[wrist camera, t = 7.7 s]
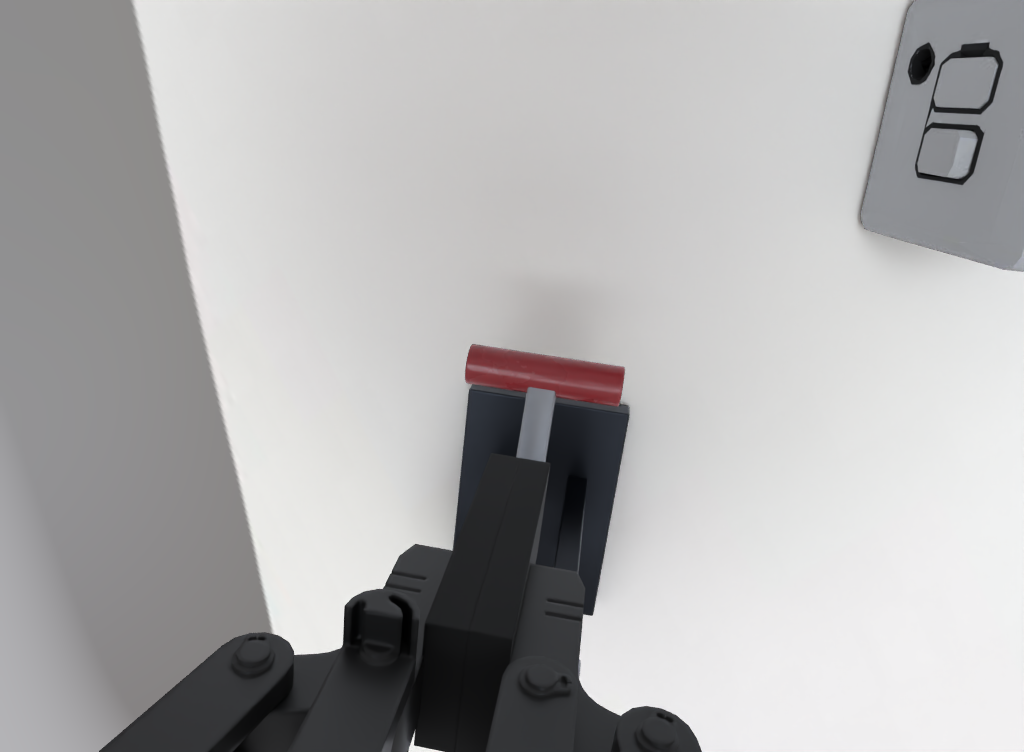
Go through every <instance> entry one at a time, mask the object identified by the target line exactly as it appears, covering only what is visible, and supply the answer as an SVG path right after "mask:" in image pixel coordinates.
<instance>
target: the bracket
mask: <svg viewBox="0 0 1024 752" xmlns="http://www.w3.org/2000/svg"><path fill="white" fill-rule="evenodd" d="M526 395H527V393H525V392H519V391H513V390H506V389H500V388H494V387H487V386H481V385H474V384H472V386H471V388H470V389H469V396H468V406H467V416H466V426H465V436H464V446H463V456H462V466H461V476H460V486H459V496H458V506H457V516H456V526H455V536H454V546H453V549H454V547H455V544H456V542H457V539H458V537H459V534H460V531H461V529H462V526H463V524H464V521H465V519H466V516H467V514H468V511H469V508H470V506H471V503H472V501H473V498H474V496H475V493H476V490H477V488H478V485H479V483H480V480H481V478H482V475H483V473H484V470H485V467H486V465H487V462H488V460H489V457H490V455H491V453H494V454H500V455H506V456H512V457H516V456H517V450H518V444H519V437H520V431H521V425H522V419H523V413H524V407H525V401H526ZM628 420H629V406H625V405H619V406H618V407H614V406H608V405H602V404H595V403H589V402H583V401H576V400H570V399H564V398H557V397H556V400H555V406H554V412H553V418H552V425H551V431H550V437H549V444H548V450H547V456H546V462H548V463H551V464H550V471H549V477H548V484H547V491H546V498H545V505H544V511H543V518H542V525H541V532H540V539H539V545H538V552H537V558H536V563H535V564H537V565H543V566H548V567H554V568H559V569H565V570H570V571H576V572H577V573H578V575H579V577H580V579H581V581H582V583H583V585H584V587H585V598H584V607H583V608H584V609H583V614H585V615H590V616H592V615H593V612H594V607H595V601H596V596H597V590H598V585H599V579H600V574H601V569H602V563H603V558H604V552H605V547H606V541H607V536H608V530H609V525H610V519H611V514H612V508H613V503H614V497H615V492H616V486H617V481H618V475H619V470H620V464H621V459H622V453H623V448H624V442H625V437H626V431H627V426H628ZM580 665H581V661H580V660H579V665H578V676H579V675H580Z"/></svg>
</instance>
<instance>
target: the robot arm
mask: <svg viewBox="0 0 1024 752" xmlns="http://www.w3.org/2000/svg"><path fill="white" fill-rule="evenodd" d="M550 464H551V463H548V462H542V461H536V460H530V459H524V458H518V457H512V456H506V455H500V454H494V453H491V455H490V457H489V460H488V462H487V465H486V467H485V470H484V473H483V475H482V478H481V480H480V483H479V485H478V488H477V490H476V493H475V496H474V498H473V501H472V503H471V506H470V508H469V511H468V514H467V516H466V519H465V521H464V524H463V526H462V529H461V531H460V534H459V537H458V539H457V542H456V544H455V547H454V549H453V551H451V550H446V549H440V548H435V547H429V546H424V545H418V544H415V545H414V546H412V547H411V548H410V549H408V550H407V551H405V552H404V553H403V554H401V555H400V556H399V558H398V560H397V562H396V564H395V566H394V568H393V570H392V573H391V574H390V576H389V578H388V580H387V582H386V585H385V586H384V588H383V589H376V590H370V591H365V592H363V593H361V594H359V595H357V596H355V597H353V598H352V599H351V600H350V601H349V602H348V603H347V604H346V605H345V611H344V635H343V646H342V648H340V649H338V650H335V651H331V652H328V653H320V654H307V655H294V651H293V649H292V647H291V645H290V643H289V642H288V641H286V640H285V639H283V638H282V637H280V636H278V635H274V634H270V633H249V634H246V635H242V636H239V637H236V638H234V639H232V640H230V641H229V642H227V643H226V644H224V645H222V646H221V647H220V648H219V649H218V650H217V651H215V652H214V653H213V654H212V655H211V656H210V657H208V658H207V659H206V660H205V661H204V662H203V663H201V664H200V665H199V666H198V667H197V668H196V669H194V670H193V671H192V672H191V673H190V674H189V675H187V676H186V677H185V678H184V679H183V680H182V681H180V682H179V683H178V684H177V685H176V686H175V687H173V688H172V689H171V690H170V691H169V692H168V693H167V694H165V695H164V696H163V697H162V698H161V699H159V700H158V701H157V702H156V703H155V704H154V705H152V706H151V707H150V708H149V709H148V710H147V711H146V712H144V713H143V714H142V715H141V716H140V717H138V718H137V719H136V720H135V721H134V722H133V723H132V724H130V725H129V726H128V727H127V728H126V729H124V730H123V731H122V732H121V733H120V734H119V735H118V736H117V737H115V738H114V739H113V740H112V741H111V742H109V743H108V744H107V745H106V746H105V747H103V748H102V749H101V750H100V751H99V752H408V749H409V746H410V743H411V740H412V737H413V734H414V732H415V740H414V745H415V746H420V747H424V748H429V749H434V750H439V751H444V752H702V751H701V748H700V746H699V743H698V741H697V738H696V737H695V735H694V733H693V732H692V730H691V729H690V727H689V726H688V725H687V724H686V723H685V722H684V721H682V720H681V719H680V718H679V717H678V716H676V715H674V714H672V713H670V712H668V711H666V710H664V709H661V708H655V707H649V706H644V707H637V708H632V709H631V710H629V711H627V712H626V713H624V714H623V715H622V716H619V715H617V714H615V713H613V712H611V711H609V710H607V709H605V708H604V707H602V706H600V705H599V704H597V703H596V702H595V701H594V700H592V699H591V698H590V697H589V696H588V695H587V693H586V692H585V691H584V689H583V688H582V686H581V683H580V681H579V676H578V665H579V654H580V643H581V632H582V619H583V609H584V608H583V607H584V598H585V587H584V585H583V583H582V581H581V579H580V577H579V575H578V573H577V572H576V571H570V570H565V569H559V568H554V567H548V566H543V565H537V564H535V563H536V558H537V552H538V545H539V539H540V532H541V525H542V518H543V511H544V505H545V498H546V491H547V484H548V477H549V471H550Z"/></svg>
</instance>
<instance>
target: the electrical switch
mask: <svg viewBox="0 0 1024 752" xmlns="http://www.w3.org/2000/svg"><path fill="white" fill-rule="evenodd" d="M861 221H862V223H863V226H864V228H865V229H867V230H870V231H873V232H876V233H879V234H882V235H885V236H889V237H892V238H896V239H899V240H903V241H906V242H910V243H913V244H917V245H920V246H924V247H927V248H930V249H934V250H937V251H941V252H944V253H948V254H951V255H955V256H958V257H962V258H965V259H969V260H972V261H976V262H979V263H983V264H986V265H990V266H993V267H997V268H1000V269H1004V270H1013V271H1022V272H1023V271H1024V0H915V1H914V2H913V3H912V5H911V6H910V8H909V10H908V12H907V16H906V20H905V25H904V29H903V33H902V38H901V42H900V46H899V51H898V55H897V59H896V64H895V68H894V72H893V77H892V81H891V85H890V90H889V94H888V98H887V103H886V107H885V111H884V116H883V120H882V124H881V129H880V133H879V137H878V142H877V146H876V150H875V155H874V159H873V163H872V168H871V172H870V176H869V181H868V185H867V189H866V194H865V198H864V202H863V207H862V211H861Z"/></svg>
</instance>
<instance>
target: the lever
mask: <svg viewBox="0 0 1024 752" xmlns="http://www.w3.org/2000/svg"><path fill="white" fill-rule="evenodd" d="M624 373H625V368H624V367H621V366H614V365H608V364H601V363H594V362H588V361H581V360H575V359H568V358H561V357H555V356H548V355H542V354H535V353H529V352H522V351H515V350H509V349H502V348H496V347H489V346H483V345H476V344H472V345H471V347H470V349H469V353H468V357H467V362H466V370H465V380H466V383H468V384H474V385H481V386H487V387H494V388H500V389H506V390H513V391H519V392H525V393H527V395H526V401H525V407H524V413H523V419H522V425H521V431H520V437H519V444H518V450H517V456H516V457H518V458H524V459H530V460H536V461H542V462H546V456H547V450H548V444H549V437H550V431H551V425H552V418H553V412H554V406H555V400H556V397H557V398H564V399H570V400H576V401H583V402H589V403H595V404H602V405H608V406H614V407H618V406H619V404H620V399H621V394H622V388H623V381H624Z"/></svg>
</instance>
